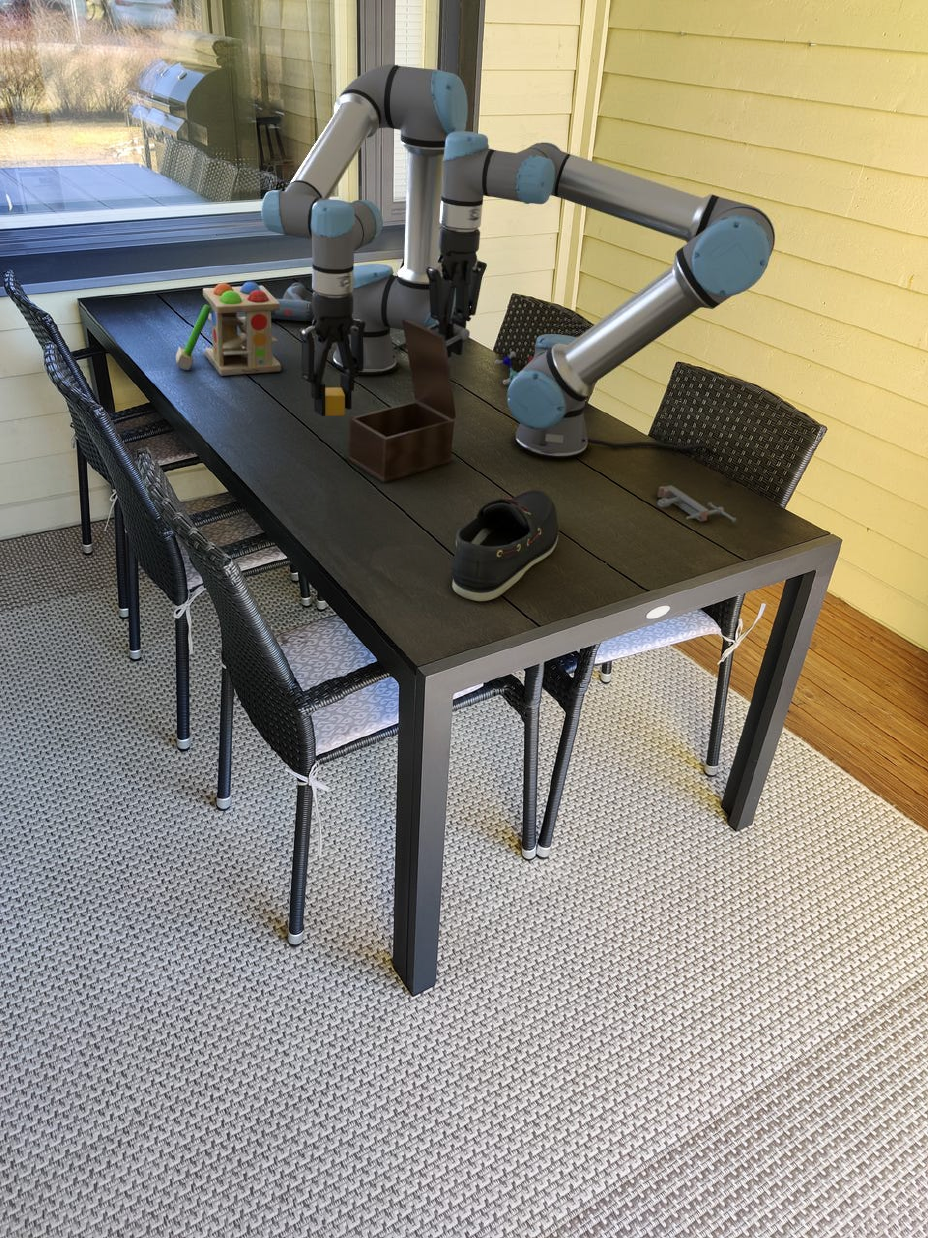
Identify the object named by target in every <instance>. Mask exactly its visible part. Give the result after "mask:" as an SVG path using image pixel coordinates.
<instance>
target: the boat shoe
mask: <svg viewBox="0 0 928 1238" xmlns="http://www.w3.org/2000/svg"><path fill="white" fill-rule="evenodd" d="M558 520H559V519H558V513H557V509H556V506H555V503H554V502H553V500H552V498H551V496H549V494H548V493H546V492H545V491H542V490H539V489H537V490H536V489H533V490H528V491H526V492H522V493H520V494H517V495H516V496H514V497H513V498H505V497H504V498H499V497H498V498H495V499H493V500H491V501H488V502H486V503H485V504H483V505H482V506H481V507H480V508H479V509H478V511H477V512H476V514H475V516H474V518H472V519H470V520H469V521H468V522H467V523H465V525H463V526H461V527H460V528H459V529H458V530H457V532H456V534H455V536H454V538H453V544H455V548H454V549H455V552H454V556H453V560H452V567H450V573H451V575H453V576H452V585H451V586H452V589H453V591H454V592H455V593H456V594H457V595H459V596H460V597H463V598H464V599H468V600H470V601H471V600H472V601H476V602H486V601H490V600H493V599H496V598H498V597H499V596H501V595H502V594H504V593H505V592H506V591H507V590H508V589H510V588H511V587H512V586H514V585H515V584H516V583H517V582H518V581H520V579H522V577H523V575H524V574H525V573H526V572H527V571H528V570H529V569H530V568H531V567H533V565H535V564H536V563H539V562H541V561H543V560H544V559H546V558H547V557H549V556H550V555H551V554H552V553H553V551H554V550H555V548H556V546H557V543H558V539H559V522H558Z"/></svg>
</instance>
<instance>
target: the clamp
mask: <svg viewBox="0 0 928 1238" xmlns="http://www.w3.org/2000/svg"><path fill="white" fill-rule="evenodd" d="M656 497H657V498H659V499H658V501H657V506H659V507H660V508H667V507H669V506H670V507H671V505H673V504H674V505H675V506H677V507H679V508H680V509H681V510H682V511H684V512H686V513H687V514H688V516H686V517H685V519H686V520H691V519H692V520H694V519H696V520H697V521H699V522H704V521H707V519H708V516H711V515H717V516H718V515H723V516H725V517H726V518H728V519H729V520H731V521H732V523H736V522H737V521H738V519H737V517H733V516H732V515H730V514H728V513H727V512H725V509H724V507H723V506H718V507H717V506H715V505H714V504H713V503H712V502H711V501H709V502H707V507H708V508H711V509H712V510H709V509H708V508H706V507H705V506H704V505H702V504H701V503H699V502H698V501H696V500H695V499H693V498H691V497H690V496H689V495H687V494H686V493H684V492H683V491H681V490H679V489H678V488H677V487H675V486H674V485H666V486H664V485H662V486H659V487H658V492H657V496H656ZM660 498H661V499H660Z"/></svg>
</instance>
